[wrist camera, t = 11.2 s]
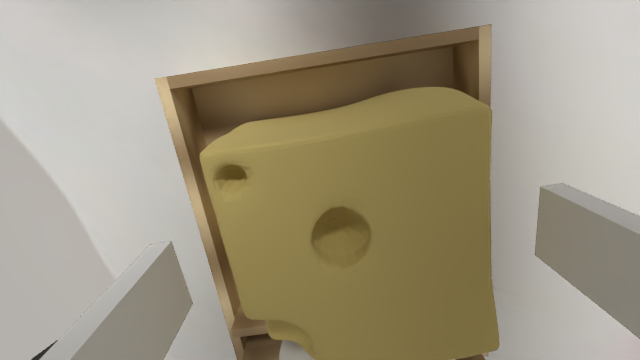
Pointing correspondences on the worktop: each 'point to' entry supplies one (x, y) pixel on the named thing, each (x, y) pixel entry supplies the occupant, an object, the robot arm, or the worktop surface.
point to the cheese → (363, 226)
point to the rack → (296, 99)
